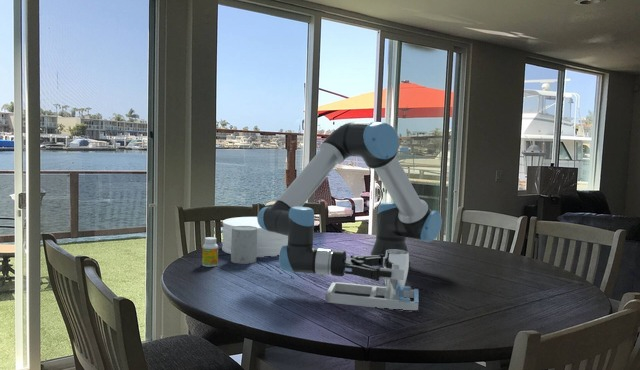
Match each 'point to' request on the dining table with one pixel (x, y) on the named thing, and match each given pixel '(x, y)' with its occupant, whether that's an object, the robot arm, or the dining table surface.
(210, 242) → the supplement bottle
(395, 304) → the frame
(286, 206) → the robot arm
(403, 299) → the light blue bracket
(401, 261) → the beer glass
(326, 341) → the dining table surface
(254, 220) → the plate stack
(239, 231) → the gray cylinder
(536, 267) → the dining table surface
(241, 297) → the dining table surface
